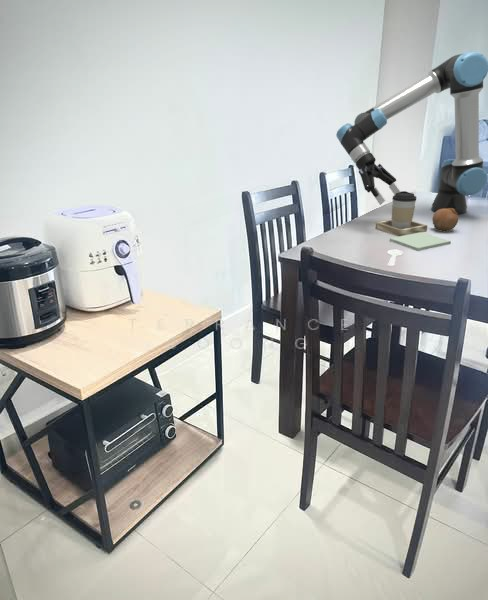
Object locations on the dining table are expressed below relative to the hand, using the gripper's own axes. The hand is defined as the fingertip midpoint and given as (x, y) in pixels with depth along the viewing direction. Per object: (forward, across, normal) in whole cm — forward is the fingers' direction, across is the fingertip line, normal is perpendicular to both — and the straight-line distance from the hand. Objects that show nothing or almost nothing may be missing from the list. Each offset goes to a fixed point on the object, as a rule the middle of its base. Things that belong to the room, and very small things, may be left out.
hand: (391, 199), depth 176 cm
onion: (+21, -12, +4) cm, 24 cm away
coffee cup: (+12, -1, -5) cm, 13 cm away
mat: (+21, +10, +5) cm, 24 cm away
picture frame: (+12, -1, -5) cm, 13 cm away
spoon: (+23, +31, +5) cm, 39 cm away
